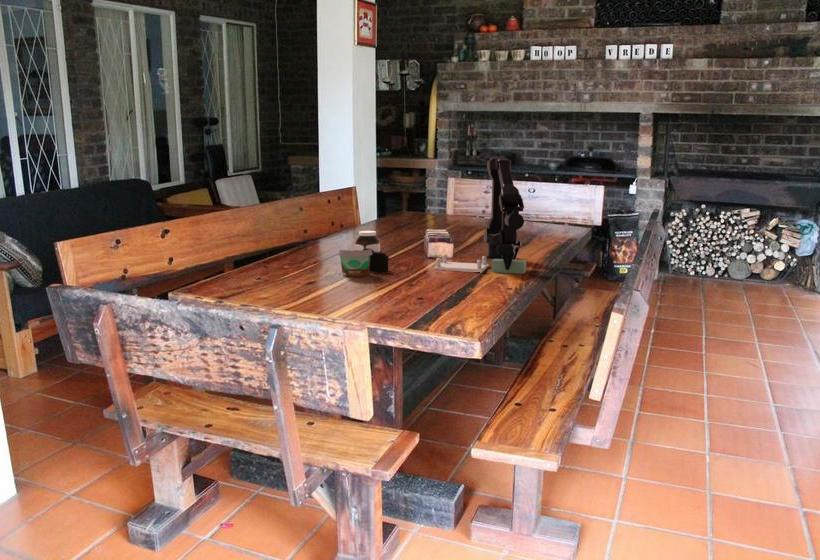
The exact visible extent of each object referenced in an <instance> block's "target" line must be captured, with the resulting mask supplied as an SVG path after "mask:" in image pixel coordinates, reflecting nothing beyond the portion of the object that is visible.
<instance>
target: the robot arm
mask: <svg viewBox="0 0 820 560" xmlns="http://www.w3.org/2000/svg"><path fill="white" fill-rule="evenodd" d="M511 164H512V160H510V159H508V158H507V157H491V158H490V159H489V160H487V163H486V169H487V172H488V175H489V177H490V179H491V208H490V209H491V213H490V214H491V215H490V218H489V220H488V221H487V223H486V227H485V230H484V234H483V242H484V243H486V244H487V255H486V259H503V260H504V264H505V269H506V270H509V268H510V265H511V263H512V260H516V258H517V255H518V253H519V251H520V249H521V247H522V245H523V244H522V240H521V239H520V238H518V232H519V230H520V229H521V228H522V227H523V226H524V224H525V218H524V217H523V216H522V214H520V212H524V208H525V206H524V205H525V204H524V199H523V197H522V194H520V192H519V191H520V190H519V189H518V188H517V187H516V186H515V184H514V181H513V176H512V172H511V170H512V168H511V166H512V165H511ZM517 246H518V247H517Z"/></svg>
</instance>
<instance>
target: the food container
mask: <svg viewBox="0 0 820 560" xmlns="http://www.w3.org/2000/svg"><path fill="white" fill-rule="evenodd" d="M337 255H338V256H339V257H340V264H341V265H340V266H341V273H342V276H343V277H347V278H352V279H354V278H355V279H358V278H366V277H368V276H369V274H370V271H369V267H370V255H372V250H371V248H370V249H369V250H362V251H361V250H352V251H350V250H343V249H339V250H338V253H337Z"/></svg>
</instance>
